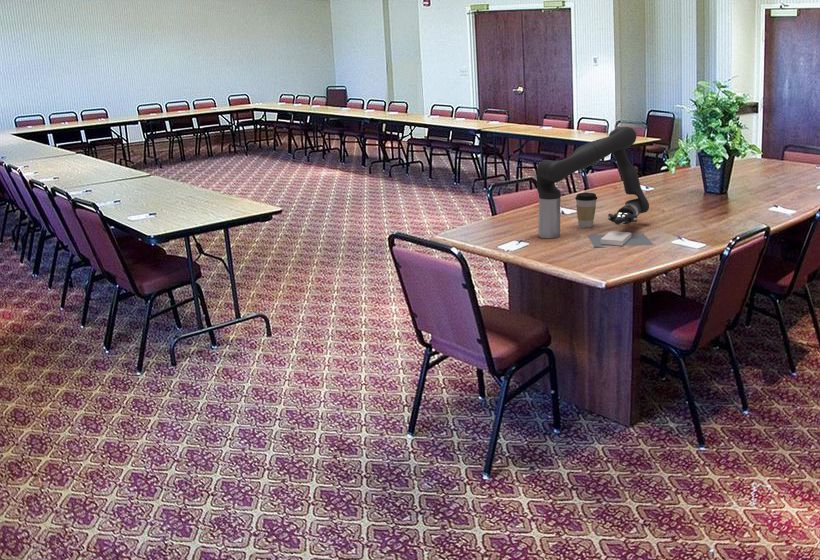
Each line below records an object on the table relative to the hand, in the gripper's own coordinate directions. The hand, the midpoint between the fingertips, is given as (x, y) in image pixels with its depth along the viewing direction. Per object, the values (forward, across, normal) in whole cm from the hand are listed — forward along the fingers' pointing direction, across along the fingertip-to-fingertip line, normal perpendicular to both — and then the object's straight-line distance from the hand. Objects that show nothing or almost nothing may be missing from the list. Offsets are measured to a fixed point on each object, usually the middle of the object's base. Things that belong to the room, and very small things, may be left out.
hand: (617, 222), depth 324 cm
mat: (-2, +1, +8) cm, 9 cm away
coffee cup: (-23, -20, +9) cm, 32 cm away
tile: (-6, 0, +7) cm, 9 cm away
